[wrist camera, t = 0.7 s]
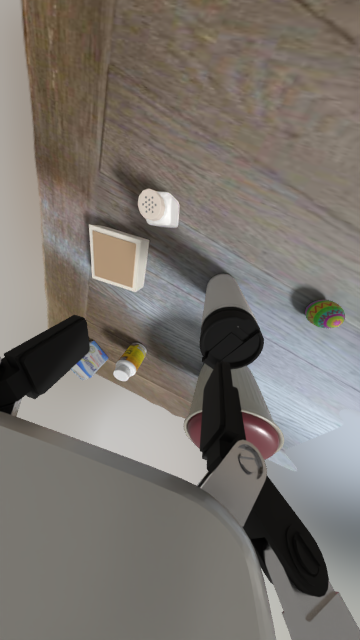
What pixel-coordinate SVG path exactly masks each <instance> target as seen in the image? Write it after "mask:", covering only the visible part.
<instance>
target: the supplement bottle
mask: <svg viewBox="0 0 360 640" xmlns="http://www.w3.org/2000/svg"><path fill="white" fill-rule="evenodd" d="M146 353H147V350H146V348H145V347H144V346H143V345H142V344H140V343H132V344H131V345H130V346H129V347H128V349H127V350H126V351H125V353H124V354H123V355H122V356H121V358H120V359H119V360H118V361H117V363H116V369H115V371H114V373H113V374H114V376H115V377H116V378H117V379H118V380H120V381H127V380H128V378H129V377H130V376H133V375H134V374H135V373H136V371H137V369H138V368H139V366H140V364H141V363H142V361H143V359H144V357H145V356H146Z"/></svg>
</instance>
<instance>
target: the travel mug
mask: <svg viewBox="0 0 360 640" xmlns="http://www.w3.org/2000/svg"><path fill="white" fill-rule="evenodd" d="M263 345H264V338H263V336H262V333H261V331H260V328H259V326H258V324H257V321H256V319H255V317H254V315H253V313H252V311H251V309H250V307H249V305H248V303H247V301H246V299H245V297H244V295H243V293H242V292H241V290H240V288H239V286H238V284H237V282H236V280H235V279H234V278H233V277H232V276H231V275H229V274H218V275H215V276H214V277H212V278H211V279H210V281H209V282H208V284H207V290H206V297H205V304H204V311H203V319H202V326H201V337H200V350H201V353H202V355H203V358H202V362H204V363H205V364H206V365H208V366H209V367H211V368H212V369H214V367H215V365H216V363H217V362H219V363H220V361H223V362H226V363H230V367H231V369H238V368H242V367H244V366H247V365H249V364H250V363H252V362H253V361H254V360H255V359H257V357H258V356H259V355H260V353H261V351H262V349H263Z"/></svg>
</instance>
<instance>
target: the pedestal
mask: <svg viewBox="0 0 360 640" xmlns="http://www.w3.org/2000/svg"><path fill="white" fill-rule="evenodd" d="M89 232H90V248H91V265H92V278H94V279H97V280H100V281H103V282H106V283H109V284H112V285H115V286H118V287H121V288H125V289H128V290H131V291H134V292H137V291H138V290H140V289H141V288H142V287H144V279H145V271H146V263H147V255H148V248H149V240H148V239H144V238H141V237H138V236H135V235H131V234H128V233H125V232H122V231H118V230H115V229H112V228H109V227H105V226H100V225H91V224H89Z"/></svg>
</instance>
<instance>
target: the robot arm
mask: <svg viewBox="0 0 360 640" xmlns="http://www.w3.org/2000/svg"><path fill="white" fill-rule="evenodd" d="M89 351H90V345H89V337H88V329H87V322H86V320H85V318H83V317H80V316H77V315H73V316H71V317H69V318H68V319H66V320H64V321H62V322H60V323H59V324H57V325H55V326H53V327H51V328H50V329H48V330H46V331H44V332H42V333H41V334H39V335H37V336H35V337H33V338H32V339H30V340H28V341H26V342H24V343H22V344H21V345H19V346H17V347H15V348H13V349H12V350H10V351H8V352H6V353H5V354H4V356H5V357H4V358H3V359H1V357H0V640H276V637H275V631H274V625H273V621H272V615H271V610H270V605H269V600H268V595H267V591H266V587H265V582H264V578H263V575H262V571H261V568H262V570H263V572H264V573H265V575H266V576H267V578H268V579H269V581H270V582H271V583H272V584H273V585H274V587H275V590H276V592H277V595H278V597H279V600H280V603H281V605H282V608H283V610H284V611H283V612H282V614H283V617H284V620H285V622H286V625H287V627H288V630H289V633H290V636H291V639H292V640H360V630H359V628H358V626H357V624H356V622H355V621H354V619H353V617H352V615H351V613H350V612H349V610H348V608H347V606H346V604H345V602H344V601H343V599H342V597H341V595H340V593H339V592H335V591H334V589H333V587H332V585H331V584H330V582H329V578H328V573H327V568H326V564H325V562H324V558H323V556H322V553H321V551H320V549H319V547H318V545H317V543H316V542H315V540H314V538H313V537H312V535H311V534H310V532H309V531H308V530H307V528H306V527H305V526H304V524H303V523H302V522H301V520H300V519H299V518H298V516H297V515H296V514H295V512H294V511H293V510H292V508H291V507H290V506H289V504H288V503H287V502H286V500H285V499H284V498H283V496H282V495H281V494H280V492H279V491H278V490H277V488H276V487H275V486H274V484H273V483H272V482H271V480H270V479H269V478H268V476H267V468H266V464H265V461H264V459H263V457H262V455H261V453H260V452H259V450H258V449H257V448H256V447H255V446H254V445H253V444H252V443H250V442H248V441H246V435H245V429H244V423H243V417H242V410H241V404H240V398H239V392H238V389H237V388H236V387H234V386H233V382H232V374H231V367H230V363H226V362H223V361H220V363H219V362H217V363H216V365H215V367H214V369H213V371H212V373H211V375H210V377H209V379H208V381H207V383H206V385H205V387H204V391H203V405H202V420H201V435H200V451H201V452H203V454H202V458H203V459H205V460H207V470H208V472H207V473H206V474H205V476H204V477H203V478H202V479H201V481H200V482H199V483H198V484H197V486H196V485H194V484H192V483H189V482H188V481H185V480H183V479H181V478H178V477H176V476H174V475H171V474H169V473H166V472H164V471H161V470H158V469H156V468H154V467H151V466H149V465H146V464H143V463H140V462H138V461H135V460H132V459H130V458H127V457H124V456H121V455H119V454H116V453H113V452H111V451H108V450H106V449H103V448H100V447H97V446H95V445H92V444H89V443H87V442H84V441H81V440H78V439H76V438H73V437H70V436H67V435H65V434H62V433H59V432H57V431H54V430H51V429H48V428H45V427H42V426H40V425H37V424H34V423H32V422H29V421H26V420H23V419H21V418H18V417H16V415H17V412H18V409H19V406H20V403H21V399H22V397H24V396H25V395H27V396H28V397H31V398H33V399H36V398H37V397H38V396H39V395H41V394H44V393H45V392H46V391H47V390H48V389H49V388H51V387H52V386H53V385H54V384H55V383H56V382H57V381H58V380H59V379H60V378H61V377H63V376H64V375H65V374H66V373H67V372H68V371H69V370H70V369H71V368H72V367H73V366H75V365H76V364H77V363H78V362H79V361H80V360H81V359H82V358H83V357H84V356H85V355H87V354H88V352H89ZM260 566H261V567H260Z"/></svg>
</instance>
